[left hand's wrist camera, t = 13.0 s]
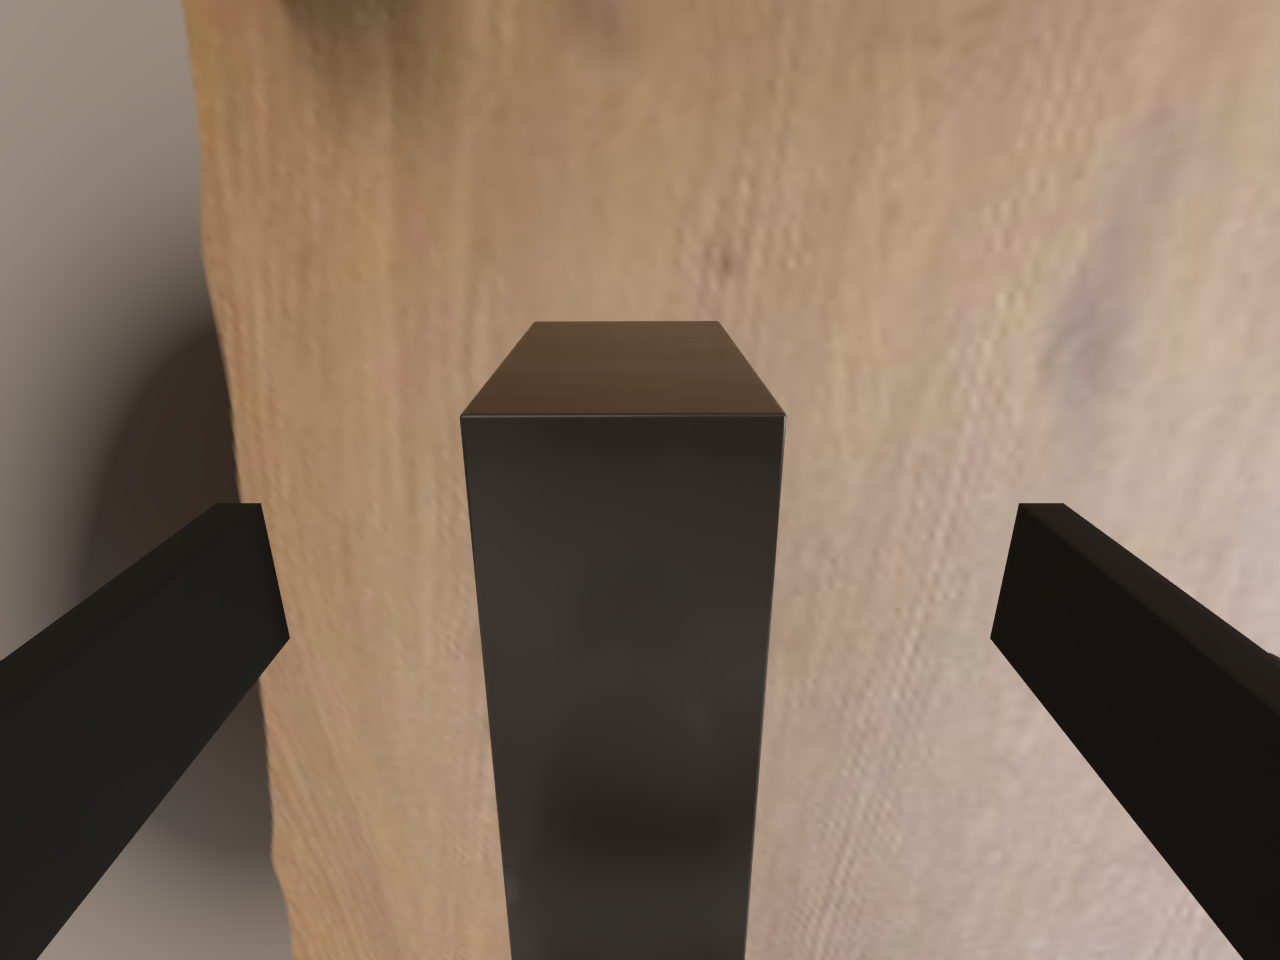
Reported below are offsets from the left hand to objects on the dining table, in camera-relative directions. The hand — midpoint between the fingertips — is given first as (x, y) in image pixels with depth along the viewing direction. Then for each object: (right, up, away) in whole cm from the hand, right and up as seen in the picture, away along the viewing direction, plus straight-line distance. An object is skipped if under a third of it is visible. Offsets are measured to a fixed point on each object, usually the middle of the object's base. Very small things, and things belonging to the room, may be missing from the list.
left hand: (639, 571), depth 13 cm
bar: (0, -5, +11) cm, 12 cm away
